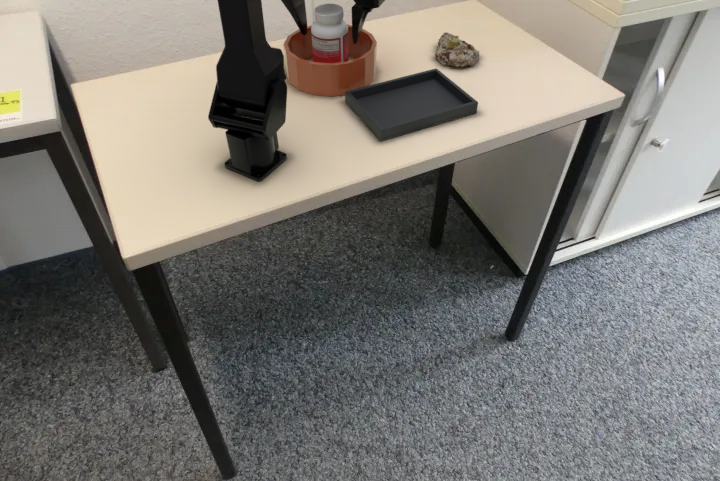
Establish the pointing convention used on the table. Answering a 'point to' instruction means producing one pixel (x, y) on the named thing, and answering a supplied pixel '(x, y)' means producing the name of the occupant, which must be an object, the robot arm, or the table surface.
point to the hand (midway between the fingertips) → (329, 38)
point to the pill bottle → (329, 35)
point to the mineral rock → (455, 51)
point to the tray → (410, 103)
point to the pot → (330, 65)
